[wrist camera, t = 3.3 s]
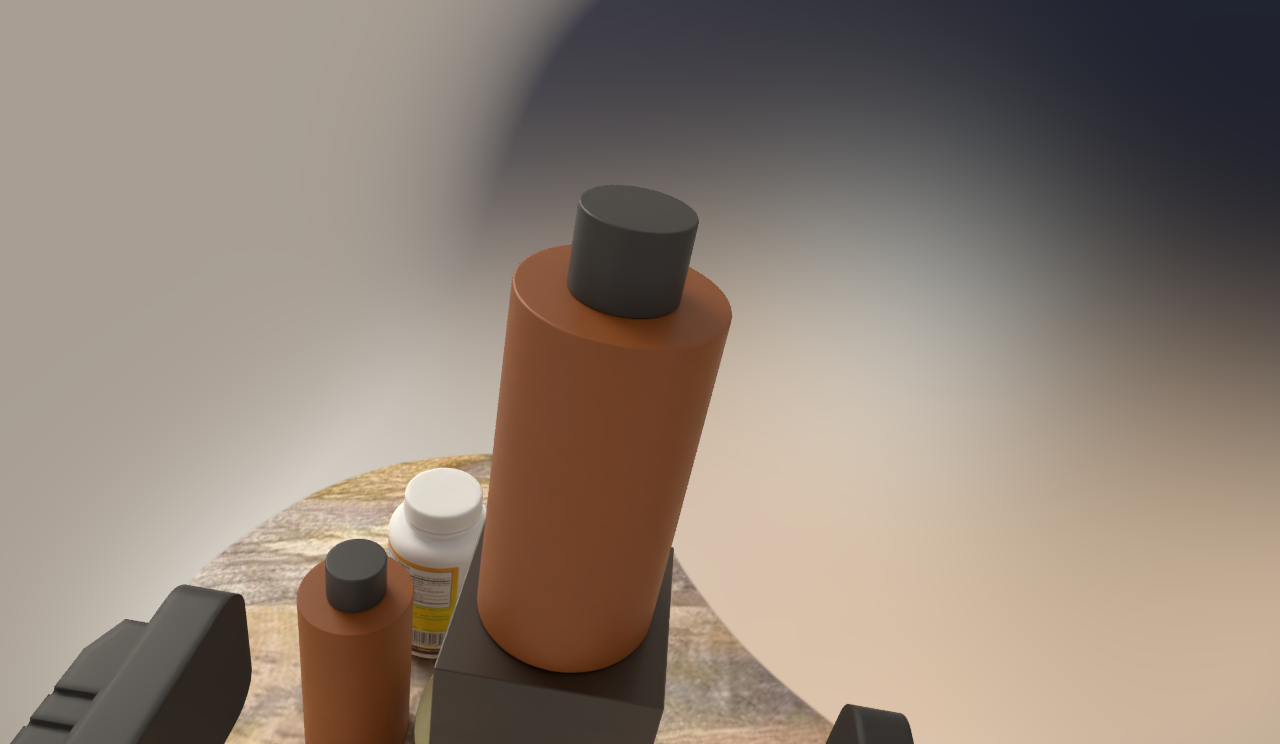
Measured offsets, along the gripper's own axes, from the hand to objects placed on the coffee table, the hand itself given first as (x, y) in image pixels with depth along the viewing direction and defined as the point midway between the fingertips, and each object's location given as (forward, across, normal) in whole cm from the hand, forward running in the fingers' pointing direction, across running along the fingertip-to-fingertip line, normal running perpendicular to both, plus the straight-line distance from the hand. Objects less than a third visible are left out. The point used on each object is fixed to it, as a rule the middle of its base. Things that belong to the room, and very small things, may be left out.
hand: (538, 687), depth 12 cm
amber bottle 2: (+10, 0, +9) cm, 13 cm away
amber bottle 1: (+19, +9, +31) cm, 38 cm away
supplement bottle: (+27, +7, +31) cm, 42 cm away
